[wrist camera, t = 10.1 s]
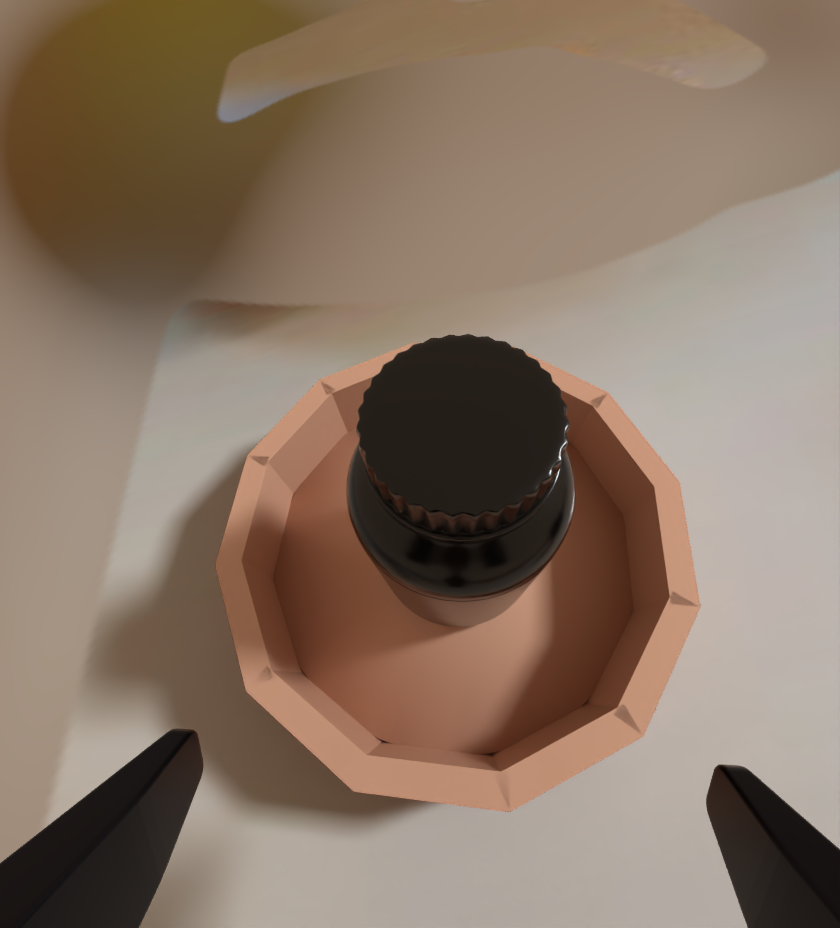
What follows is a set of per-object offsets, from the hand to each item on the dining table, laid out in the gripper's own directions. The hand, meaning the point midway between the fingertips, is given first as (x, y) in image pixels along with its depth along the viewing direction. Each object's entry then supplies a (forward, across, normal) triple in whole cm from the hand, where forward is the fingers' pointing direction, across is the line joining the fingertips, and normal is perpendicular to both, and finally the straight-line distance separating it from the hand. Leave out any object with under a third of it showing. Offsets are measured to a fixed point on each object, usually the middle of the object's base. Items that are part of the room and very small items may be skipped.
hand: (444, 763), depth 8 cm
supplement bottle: (+13, 0, +3) cm, 13 cm away
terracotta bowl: (+14, 0, +4) cm, 14 cm away
